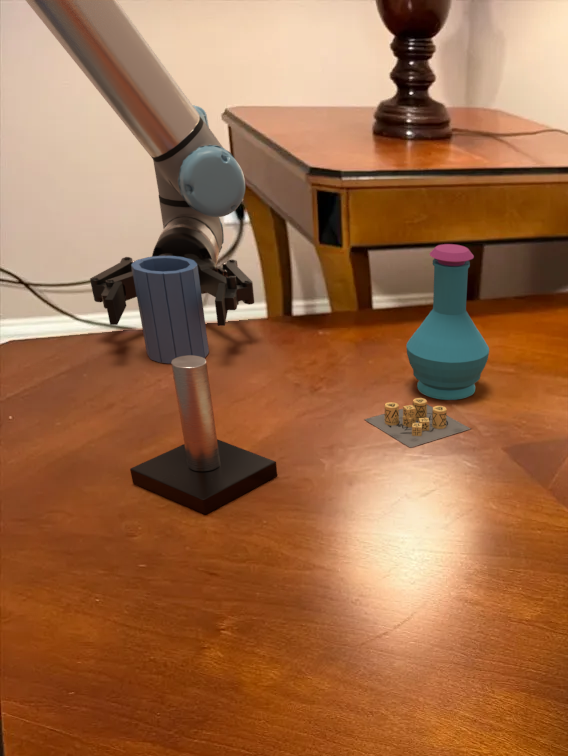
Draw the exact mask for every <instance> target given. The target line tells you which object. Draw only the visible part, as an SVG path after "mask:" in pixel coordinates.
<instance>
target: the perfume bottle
mask: <svg viewBox="0 0 568 756" xmlns="http://www.w3.org/2000/svg"><path fill="white" fill-rule="evenodd" d="M429 256H430V257H431V258H433V259H432V266H433V296H432V297H433V298H432V299H433V300H432V303H433V304H432V309H431V310H430V311H429V313H428V315H427V316H426V317H425V319H423V321H422V322H421V324H420V325H419V327H418V328H417V329H416V330H415V331H414V333H412V335H411V337H410V338H409V339H408V341H407V342H406V345H405V346H406V355H407V358H408V359H407V360H408V362H409V365H410V367H411V369H412V373H413V376H414V378H415V379H416V380H417V381H418V382H417V385H416V386H417V387H416V388H417V390H418V392H419V393H420V394H422V395H424V396H426V397H429V398H432V399H437V400H444V401H457V400H462V399H466V398H469V397H471V396H473V395H474V394H475V392H476V383H477V382H478V381H480V379H481V375H482V372H483V371H484V369H485V368H486V365H487V363H488V361H489V354H490V347H489V345H488V344H487V342H486V340H485V338H484V336H483V335H482V334H481V332H480V331H479V329H478V328H477V326H476V324H475V323H474V321H473V319H472V318H471V316H470V314H469V313H468V311H467V296H468V295H467V294H468V276H469V274H468V273H469V268H470V267H471V262H470V261H471V260H473V259H474V258H475V255H474V254H473V253H472V252H471V250H470V249H469V248H468V247H467V246H464V245H460V244H453V243H444V244H443V243H442V244H437V245H436V246H435V247H434V248H433V249H432V250H431V251H429Z"/></svg>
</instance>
